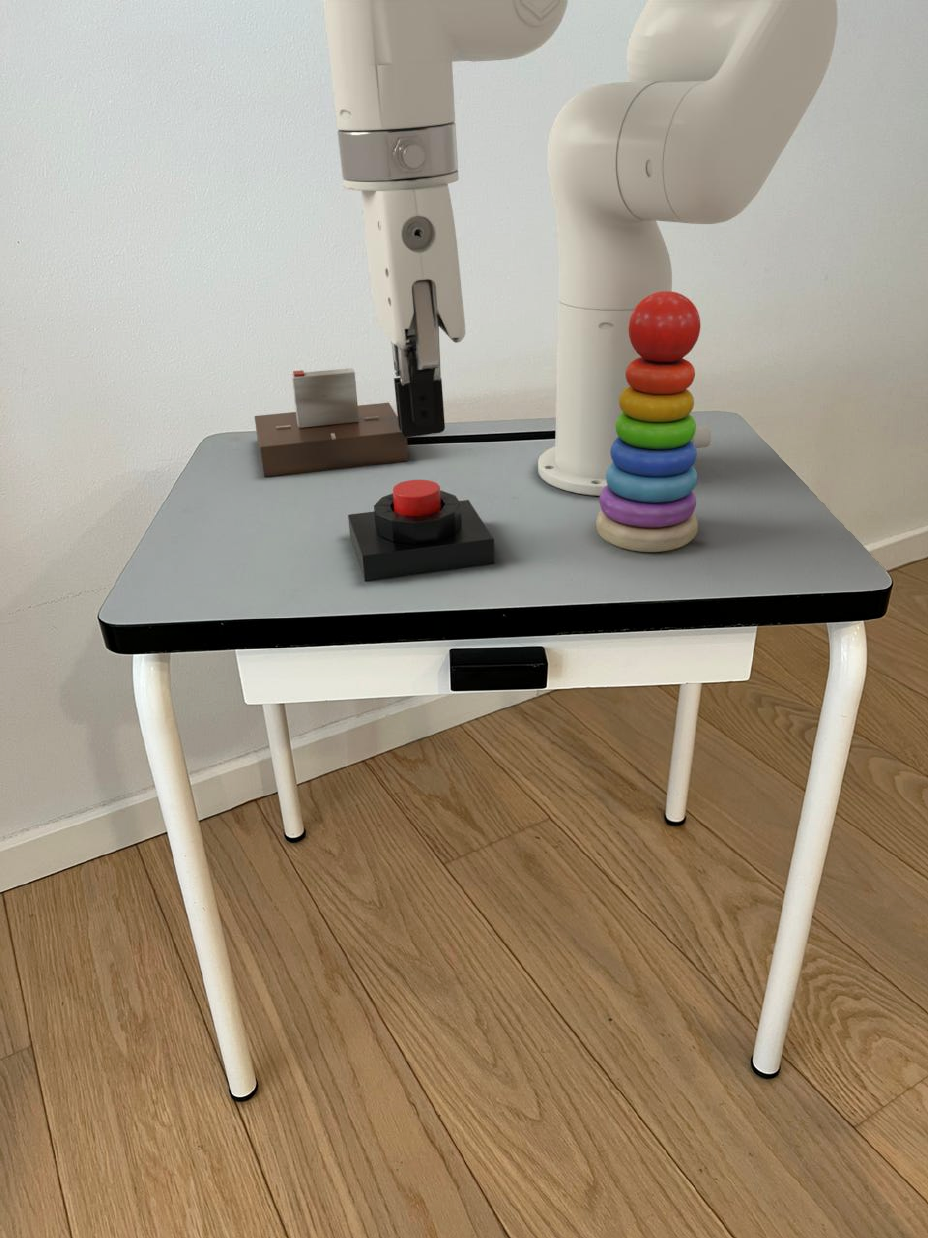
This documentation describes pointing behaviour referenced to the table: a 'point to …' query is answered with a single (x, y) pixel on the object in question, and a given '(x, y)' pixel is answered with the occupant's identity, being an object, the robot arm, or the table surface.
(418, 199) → the robot arm
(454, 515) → the switch block
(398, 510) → the button
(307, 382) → the grey rectangular block
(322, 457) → the brown base block
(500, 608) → the table surface
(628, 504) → the stacking toy
